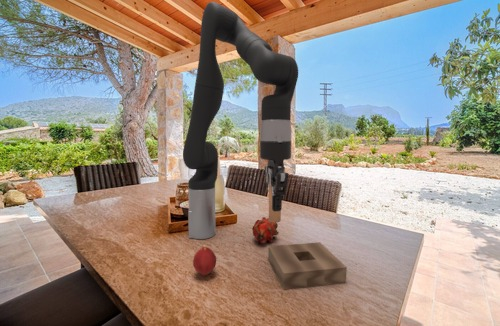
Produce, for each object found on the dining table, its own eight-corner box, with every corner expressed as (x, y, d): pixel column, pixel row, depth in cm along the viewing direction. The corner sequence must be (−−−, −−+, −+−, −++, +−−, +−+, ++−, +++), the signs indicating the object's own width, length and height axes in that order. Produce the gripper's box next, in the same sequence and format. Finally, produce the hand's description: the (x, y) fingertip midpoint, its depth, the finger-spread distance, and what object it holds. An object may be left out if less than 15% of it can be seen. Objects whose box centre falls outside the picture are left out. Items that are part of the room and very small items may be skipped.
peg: (270, 222, 59) (270, 182, 58) (267, 218, 62) (267, 180, 61) (282, 222, 60) (282, 182, 59) (278, 218, 63) (279, 180, 62)
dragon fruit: (272, 237, 88) (261, 257, 78) (254, 222, 90) (241, 240, 79) (285, 222, 85) (276, 241, 74) (266, 207, 86) (255, 223, 75)
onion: (195, 269, 65) (194, 240, 64) (216, 268, 65) (216, 239, 64) (191, 282, 59) (191, 250, 58) (215, 281, 59) (215, 250, 58)
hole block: (283, 289, 56) (283, 273, 56) (268, 259, 70) (268, 246, 70) (345, 282, 59) (346, 267, 59) (319, 254, 73) (320, 242, 72)
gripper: (255, 139, 65) (255, 201, 67) (267, 140, 51) (266, 218, 53) (282, 139, 66) (281, 200, 68) (300, 139, 53) (299, 217, 54)
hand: (274, 208), depth 61 cm, fingers closed on peg, 3 cm apart
